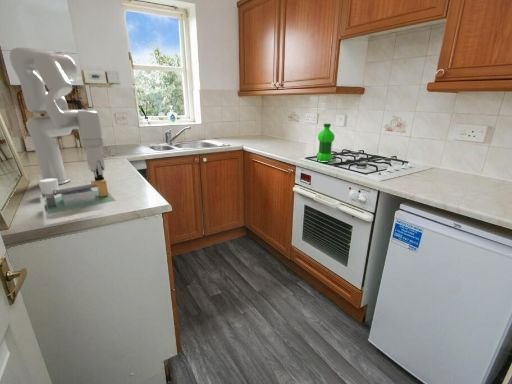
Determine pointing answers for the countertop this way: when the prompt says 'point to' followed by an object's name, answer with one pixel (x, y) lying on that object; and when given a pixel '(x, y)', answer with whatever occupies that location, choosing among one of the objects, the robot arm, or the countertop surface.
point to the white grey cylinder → (48, 185)
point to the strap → (73, 189)
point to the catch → (101, 187)
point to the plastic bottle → (325, 144)
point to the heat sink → (72, 198)
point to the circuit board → (62, 207)
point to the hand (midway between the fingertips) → (100, 186)
